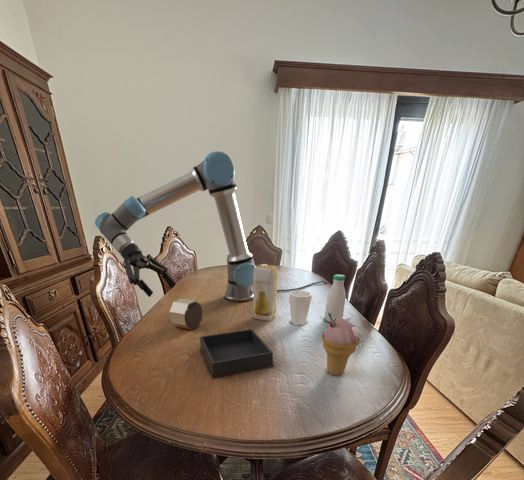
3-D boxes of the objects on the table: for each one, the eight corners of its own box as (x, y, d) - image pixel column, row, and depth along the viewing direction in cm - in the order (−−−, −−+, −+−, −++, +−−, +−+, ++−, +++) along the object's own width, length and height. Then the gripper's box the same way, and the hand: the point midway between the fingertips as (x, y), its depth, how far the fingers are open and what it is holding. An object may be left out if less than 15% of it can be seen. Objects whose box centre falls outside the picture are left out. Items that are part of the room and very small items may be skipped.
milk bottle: (342, 324, 124) (349, 278, 115) (324, 322, 126) (330, 277, 116) (341, 317, 131) (348, 273, 122) (324, 316, 132) (329, 272, 123)
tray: (252, 340, 109) (252, 328, 107) (272, 366, 93) (273, 352, 91) (201, 349, 103) (199, 336, 100) (213, 377, 87) (212, 363, 84)
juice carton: (251, 319, 128) (251, 264, 117) (258, 313, 135) (258, 261, 123) (271, 322, 125) (273, 266, 114) (277, 316, 132) (279, 262, 120)
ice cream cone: (333, 385, 84) (342, 322, 74) (310, 367, 92) (317, 309, 83) (360, 376, 88) (373, 315, 79) (337, 360, 97) (346, 303, 87)
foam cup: (311, 320, 128) (313, 291, 122) (307, 327, 120) (309, 298, 114) (290, 317, 131) (292, 289, 125) (285, 324, 123) (286, 295, 117)
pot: (172, 329, 117) (168, 303, 112) (188, 320, 126) (185, 296, 121) (188, 333, 115) (184, 306, 109) (203, 323, 123) (201, 298, 118)
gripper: (146, 250, 128) (177, 288, 130) (98, 260, 108) (136, 304, 109) (153, 239, 123) (186, 277, 125) (104, 246, 103) (144, 292, 105)
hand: (163, 290), depth 117 cm, fingers open, 13 cm apart
